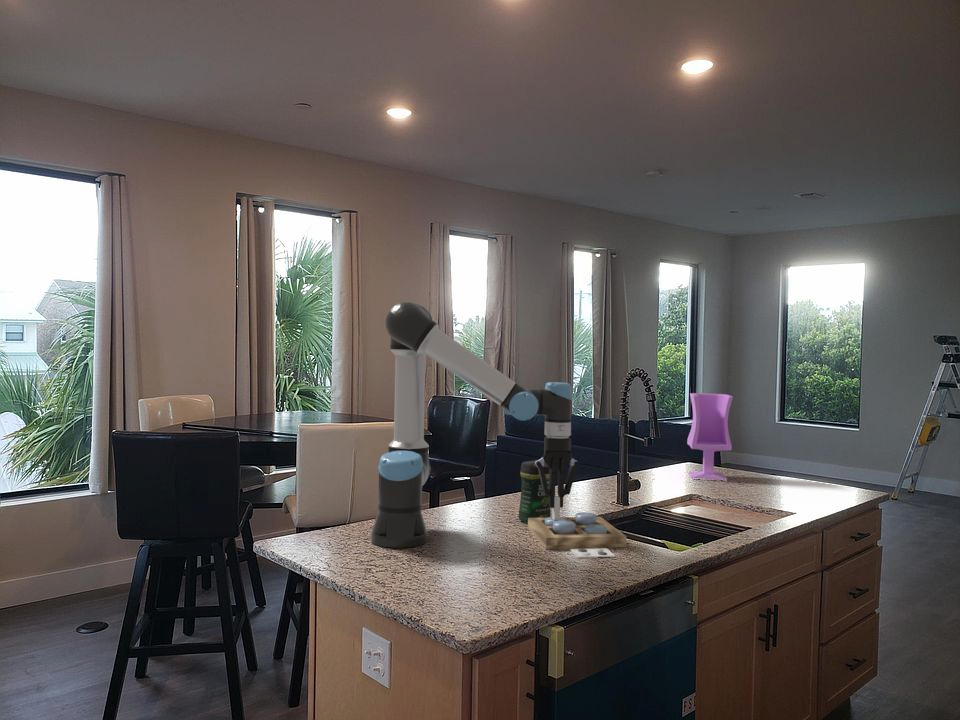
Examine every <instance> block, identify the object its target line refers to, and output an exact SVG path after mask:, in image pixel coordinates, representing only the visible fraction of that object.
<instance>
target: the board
mask: <svg viewBox="0 0 960 720" xmlns="http://www.w3.org/2000/svg"><path fill="white" fill-rule="evenodd" d="M560 518H564V519H566V521H571V522H574V523H575V516H570V517H569V516H564V517H563V516H562V517H560ZM596 525H603V526H605V527H607V533H606V534H586V533H585V532H584V530H585V526H581V525H577V524H575V533H574V534H565V535H559V534H555V533H553V526H546V525H545V518H528V523H527V529H528V531H530V532H531V534H532V535H533V536H534V537H535V538H536V540H537V541H539V543H540V544H541V545H542V546H543V547H544V549H545V550H567V549H568V550H570V549H587V548H607V549H618V548H617V547H626V548H627V535H625V534H624V533H622V532H621V531H620V530H618V528H616V527H615V526H614V525H612V524H611V523H609V522H608V521H606V520H605V519H604V518H602V517H601V516H596Z"/></svg>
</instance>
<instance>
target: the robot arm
mask: <svg viewBox="0 0 960 720" xmlns="http://www.w3.org/2000/svg"><path fill="white" fill-rule="evenodd" d="M384 324H385V328H386V332H387V333H388V336H389V337H390V343H389V345H390V346H389V347H390V348H389V349H390V351H391V353H392V354H393V355H394V358H395V359H394V360H395V364H394V366H395V367H394V369H395V370H394V415H393V418H394V419H393V420H394V421H393V439H392V441H391V442H389V443H388V446H387V447H388V448H387V451H388V452H386V453H384V454H382V455H381V457H380V459H379V464H378V467H377V468H378V500H377V501H378V502H377V503H378V507H377V508H378V509H377V514H376V518H375V519H374V520H375V521H374V524H373V527H372V529H371V532H370V533H371V534H370V542H371V543H372V544H374V545H376V546H380V547H384V548H390V549H391V548H392V549H393V548H395V549H399V548H400V549H402V548H403V549H404V548H414V547H419V546H422V545H423V544H425V543H427V541H428V529H427V527H426V524H425V523H426V522H425V520H424V517H423V512H422V504H423V503H422V501H423V500H422V499H423V486H424V485H425V484H426V483H427V482H428V479H429V477H430V474H431V462H430V459H429V455H430V454H429V453H430V451H429V449H430V445H429V443H427V442H426V440H425V435H424V434H425V431H424V430H425V397H426V396H425V395H426V394H425V389H426V387H425V386H426V384H425V383H426V356H427V357H429V358H430V359H432V360H433V361H435V362H436V363H437V364H439V365H441V366H442V368H445V369H446V370H447V371H449V372H450V373H452V374H453V375H455V376H456V377H458V378H459V379H460V380H462V381H463V382H465V383H466V384H468V385H469V386H471V387H472V388H473V389H475V390H477V391H478V392H480V393H481V394H482V395H484V396H485V397H487V398H488V399H490V400H491V401H492V402H494V403H495V404H497V405H498V406H500V407H501V408H502V409H503V410H502V411H503V413H504V414H505V415H511V416H512V417H513V418H515V419H516V420H519V421H529V420H531V419H533V418H534V417H535V416H544V431H543V432H544V433H543V434H544V436H545V437H543V438H544V440H543V441H544V442H543V444H544V445H543V453H542V456H541V458H540V459H537V460H534V461H535V465H536V466H537V468H538V471H539V476H540V480H541V485H542V490H543V492H544V493H545V494H546V495H549V506H550V509H552V510H551V511H552V513H551V517H552V518H553V519H554V520H560V514H561V508H563V507H564V497H565V496H567V495H569V494H571V490H572V486H573V481H574V479H575V475H576V472H577V469H578V468H579V466H580V461H578V460H576V459H575V458H573V455H572V453H571V448H572V446H571V445H572V439H571V438H570V436H572V407H573V406H572V404H573V399H572V398H573V394H572V393H573V392H572V385H571V384H570V383H569V382H557V381H554V382H553V381H551V382H550V381H549V382H545V387H544V388H539V389H536V388H524V387H523V386H521V385H520V384H518V383H517V382H516V381H514V380H513V379H511V378H510V377H508V376H507V375H505V374H504V373H502V372H501V371H499V370H498V369H496V368H495V367H493V366H492V365H491V364H490V363H488V362H487V361H485V360H483V359H482V358H481V357H479V355H478V356H477V355H476V354H474V353H473V352H472V351H471V350H469V349H468V348H467V347H466V346H464V345H462V344H461V343H459V342H458V341H456V340H455V339H453V338H452V337H450V336H449V335H447V334H446V333H445V332H443V331H442V330H441V329H440V326H439V324H438V323H437V322H435V321H434V320H433V317H432V315H431V313H430V312H429V311H428V309H426V308H425V307H424V306H422V305H420V304H416V303H415V302H411V301H403V302H402V301H401V302H399V303H396V304H395V305H393V306H392V307H391V308H390V309H389V310H388V312H387V314H386V317H385V323H384ZM544 461H545V463H546V464H547V466H548V467H549V490H548V485H547V481H546V476H545V471H544V468H543V466H544ZM568 465H569V468H568V472H567V477H566V479H565V473H566V470H565V469H566V467H567V466H568ZM556 473H557V476H556ZM556 477H557V494H556Z"/></svg>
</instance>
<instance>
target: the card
mask: <svg viewBox="0 0 960 720" xmlns="http://www.w3.org/2000/svg"><path fill="white" fill-rule="evenodd" d="M569 551H570V552H571V553H572V554H573V555H574V556H575V558H577V559H599V558H598V557H610V558H616V554H614V553H613V552H611V550H610V549H609V548H581V549H569Z"/></svg>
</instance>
